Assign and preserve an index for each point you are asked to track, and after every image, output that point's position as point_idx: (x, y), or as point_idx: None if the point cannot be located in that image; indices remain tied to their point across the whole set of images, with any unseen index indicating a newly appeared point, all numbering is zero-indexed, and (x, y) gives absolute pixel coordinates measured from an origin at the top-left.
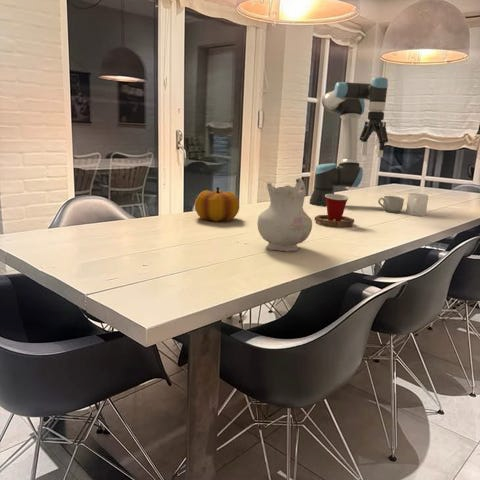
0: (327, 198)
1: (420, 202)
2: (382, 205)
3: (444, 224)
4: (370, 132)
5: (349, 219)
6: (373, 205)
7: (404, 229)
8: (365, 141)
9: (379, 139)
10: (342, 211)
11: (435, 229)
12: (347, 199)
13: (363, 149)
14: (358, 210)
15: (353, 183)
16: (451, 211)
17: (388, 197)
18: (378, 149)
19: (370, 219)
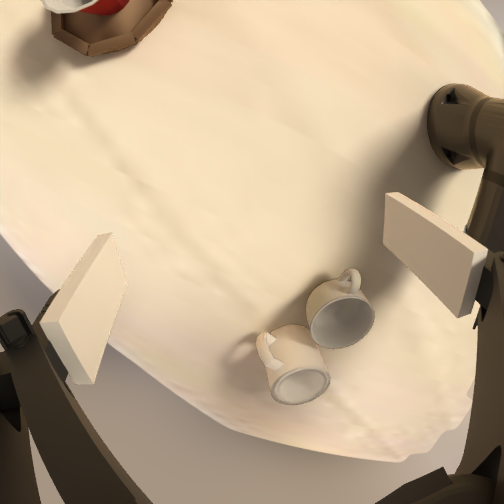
0: None
1: (269, 370)
2: (341, 276)
3: (142, 347)
4: (477, 433)
5: (98, 42)
6: (421, 284)
7: (48, 202)
8: (479, 298)
9: (30, 368)
10: (75, 6)
11: None
12: (47, 7)
13: (415, 228)
14: (359, 193)
15: (465, 231)
16: (313, 420)
17: (370, 316)
18: (70, 274)
19: (190, 155)
